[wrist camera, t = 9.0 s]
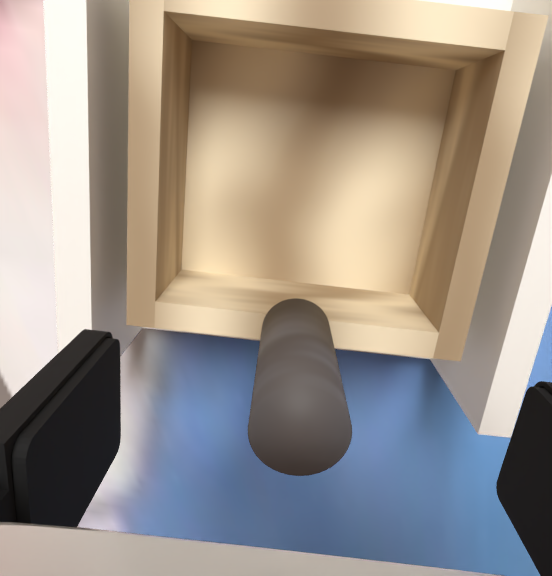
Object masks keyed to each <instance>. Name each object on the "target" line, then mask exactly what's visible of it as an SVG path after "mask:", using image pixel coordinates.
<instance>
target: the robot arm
mask: <svg viewBox="0 0 552 576" xmlns="http://www.w3.org/2000/svg"><path fill="white" fill-rule="evenodd" d="M120 438H121V423H120V342H119V340H118V339H113V337H112V334H111V332H106V331H97V330H89V329H84V330H82V331H81V332H80V333H79V334H78V335H77V336H76V337H75V338H74V339H73V340H72V341H71V342H70V343H69V344H68V345H67V346H66V347H64V348H63V349H62V350H61V351H60V352H59V353H58V354H57V355H56V356H55V357H54V358H53V359H52V360H51V361H50V362H49V363H48V364H47V365H46V366H45V367H44V368H42V369H41V370H40V371H39V372H38V373H37V374H36V375H35V376H34V377H33V378H32V379H31V380H30V381H29V382H28V383H27V384H26V385H25V386H24V387H23V388H21V389H20V390H19V391H18V392H17V393H16V394H15V395H14V396H13V397H12V398H11V399H10V400H9V401H8V402H7V403H6V404H5V405H4V406H3V407H2V408H0V576H503V575H495V574H486V573H478V572H469V571H461V570H452V569H444V568H435V567H427V566H418V565H410V564H401V563H393V562H384V561H375V560H366V559H358V558H349V557H340V556H331V555H322V554H314V553H305V552H296V551H288V550H279V549H270V548H262V547H253V546H244V545H235V544H226V543H217V542H208V541H199V540H190V539H181V538H172V537H163V536H154V535H145V534H136V533H126V532H117V531H108V530H99V529H90V528H79V527H77V526H78V524H79V522H80V520H81V518H82V517H83V515H84V513H85V511H86V509H87V507H88V506H89V504H90V502H91V500H92V498H93V497H94V495H95V493H96V491H97V489H98V487H99V486H100V484H101V482H102V480H103V478H104V476H105V475H106V473H107V471H108V469H109V467H110V465H111V464H112V462H113V460H114V458H115V456H116V454H117V452H118V449H119V445H120ZM496 489H497V495H498V498H499V500H500V502H501V504H502V506H503V507H504V509H505V511H506V513H507V515H508V517H509V518H510V520H511V522H512V524H513V526H514V528H515V529H516V531H517V533H518V535H519V537H520V539H521V540H522V542H523V544H524V546H525V548H526V550H527V551H528V553H529V555H530V557H531V559H532V561H533V562H534V564H535V566H536V568H537V570H538V572H539V573H540V575H541V576H552V383H551V382H542V381H540V382H538V383H537V384H536V385H535V386H534V387H530V388H529V389H528V390H527V392H526V394H525V397H524V400H523V403H522V406H521V410H520V413H519V416H518V419H517V422H516V425H515V428H514V431H513V434H512V437H511V440H510V443H509V446H508V449H507V452H506V455H505V458H504V461H503V464H502V467H501V471H500V474H499V477H498V480H497V486H496Z"/></svg>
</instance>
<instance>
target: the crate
mask: <svg viewBox="0 0 552 576" xmlns="http://www.w3.org/2000/svg"><path fill="white" fill-rule="evenodd" d="M548 17H549V16H548V15H540V14H531V13H522V12H514V11H505V10H497V9H488V8H479V7H471V6H462V5H453V4H445V3H436V2H428V1H419V0H129V92H128V205H127V319H126V325H131V326H140V327H149V328H158V329H167V330H177V331H186V332H195V333H204V334H213V335H223V336H232V337H241V338H250V339H259V340H260V345H259V352H258V359H257V366H256V374H255V381H254V388H253V395H252V402H251V409H250V417H249V424H248V438H249V442H250V445H251V447H252V449H253V451H254V453H255V454H256V456H257V457H258V458H259V459H260V460H261V461H262V462H263V463H264V464H266V465H267V466H268V467H270V468H272V469H274V470H276V471H278V472H281V473H284V474H288V475H296V476H304V475H312V474H316V473H320V472H322V471H324V470H326V469H328V468H330V467H332V466H333V465H334V464H336V463H337V462H338V461H339V460H340V459H341V458H342V457H343V456H344V454H345V453H346V451H347V449H348V447H349V445H350V442H351V437H352V425H351V420H350V416H349V411H348V407H347V402H346V398H345V393H344V389H343V384H342V380H341V375H340V371H339V366H338V361H337V357H336V352H335V348H342V349H351V350H360V351H369V352H379V353H388V354H397V355H406V356H415V357H424V358H434V359H443V360H452V361H461V358H462V354H463V350H464V346H465V342H466V338H467V334H468V331H469V327H470V323H471V319H472V315H473V311H474V307H475V303H476V299H477V295H478V291H479V287H480V283H481V280H482V276H483V272H484V268H485V264H486V260H487V256H488V252H489V248H490V244H491V240H492V236H493V232H494V229H495V225H496V221H497V217H498V213H499V209H500V205H501V201H502V197H503V193H504V189H505V185H506V181H507V178H508V174H509V170H510V166H511V162H512V158H513V154H514V150H515V146H516V142H517V138H518V134H519V131H520V127H521V123H522V119H523V115H524V111H525V107H526V103H527V99H528V95H529V91H530V87H531V83H532V80H533V76H534V72H535V68H536V64H537V60H538V56H539V52H540V48H541V44H542V40H543V36H544V32H545V29H546V25H547V21H548Z"/></svg>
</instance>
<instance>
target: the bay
mask: <svg viewBox="0 0 552 576" xmlns="http://www.w3.org/2000/svg"><path fill="white" fill-rule="evenodd" d="M419 1H428V2H436V3H445V4H453V5H462V6H471V7H479V8H488V9H497V10H505V11H514V12H522V13H531V14H540V15H548V16H549V17H548V21H547V25H546V29H545V32H544V36H543V40H542V44H541V48H540V52H539V56H538V60H537V64H536V68H535V72H534V76H533V80H532V83H531V87H530V91H529V95H528V99H527V103H526V107H525V111H524V115H523V119H522V123H521V127H520V131H519V134H518V138H517V142H516V146H515V150H514V154H513V158H512V162H511V166H510V170H509V174H508V178H507V181H506V185H505V189H504V193H503V197H502V201H501V205H500V209H499V213H498V217H497V221H496V225H495V229H494V232H493V236H492V240H491V244H490V248H489V252H488V256H487V260H486V264H485V268H484V272H483V276H482V280H481V283H480V287H479V291H478V295H477V299H476V303H475V307H474V311H473V315H472V319H471V323H470V327H469V331H468V334H467V338H466V342H465V346H464V350H463V354H462V358H461V361H452V360H443V359H434V358H424V357H415V356H406V355H397V354H388V353H379V352H369V351H360V350H351V349H342V348H335V349H340V350H350V351H359V352H368V353H377V354H386V355H395V356H405V357H414V358H423V359H430V360H431V362H432V363H433V365H434V366H435V368H436V369H437V371H438V373H439V374H440V376H441V377H442V379H443V380H444V382H445V383H446V385H447V387H448V388H449V390H450V391H451V393H452V394H453V396H454V398H455V399H456V401H457V402H458V404H459V405H460V407H461V408H462V410H463V412H464V413H465V415H466V416H467V418H468V419H469V421H470V422H471V424H472V426H473V427H474V429H475V430H476V432H477V433H478V434H482V435H491V436H501V437H510V438H511V435H512V432H513V429H514V425H515V422H516V419H517V416H518V412H519V409H520V406H521V403H522V399H523V396H524V393H525V390H526V387H527V383H528V380H529V377H530V374H531V370H532V367H533V364H534V361H535V357H536V354H537V351H538V348H539V344H540V341H541V338H542V335H543V332H544V328H545V325H546V322H547V319H548V315H549V312H550V309H551V306H552V0H419ZM43 4H44V29H45V53H46V77H47V101H48V126H49V150H50V174H51V198H52V223H53V247H54V271H55V296H56V320H57V344H58V353H59V352H60V351H61V350H62V349H63V348H64V347H66V346H67V345H68V344H69V343H70V342H71V341H72V340H73V339H74V338H75V337H76V336H77V335H78V334H79V333H80V332H81V331H82V330H84V329H89V330H97V331H106V332H111V334H112V337H113V339H118V340H119V342H120V356H121V355H122V354H123V353H124V351H125V350H126V349H127V347H128V346H129V345H130V343H131V342H132V341H133V340H134V338H135V337H136V336H137V334H138V333H139V332H140V330H141V329H142V328H148V329H157V330H166V331H175V332H184V333H194V334H203V335H212V336H221V337H230V338H239V339H249V340H258V341H260V340H259V339H250V338H241V337H232V336H223V335H213V334H204V333H195V332H186V331H177V330H167V329H158V328H149V327H140V326H131V325H126V319H127V205H128V92H129V0H43Z"/></svg>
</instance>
